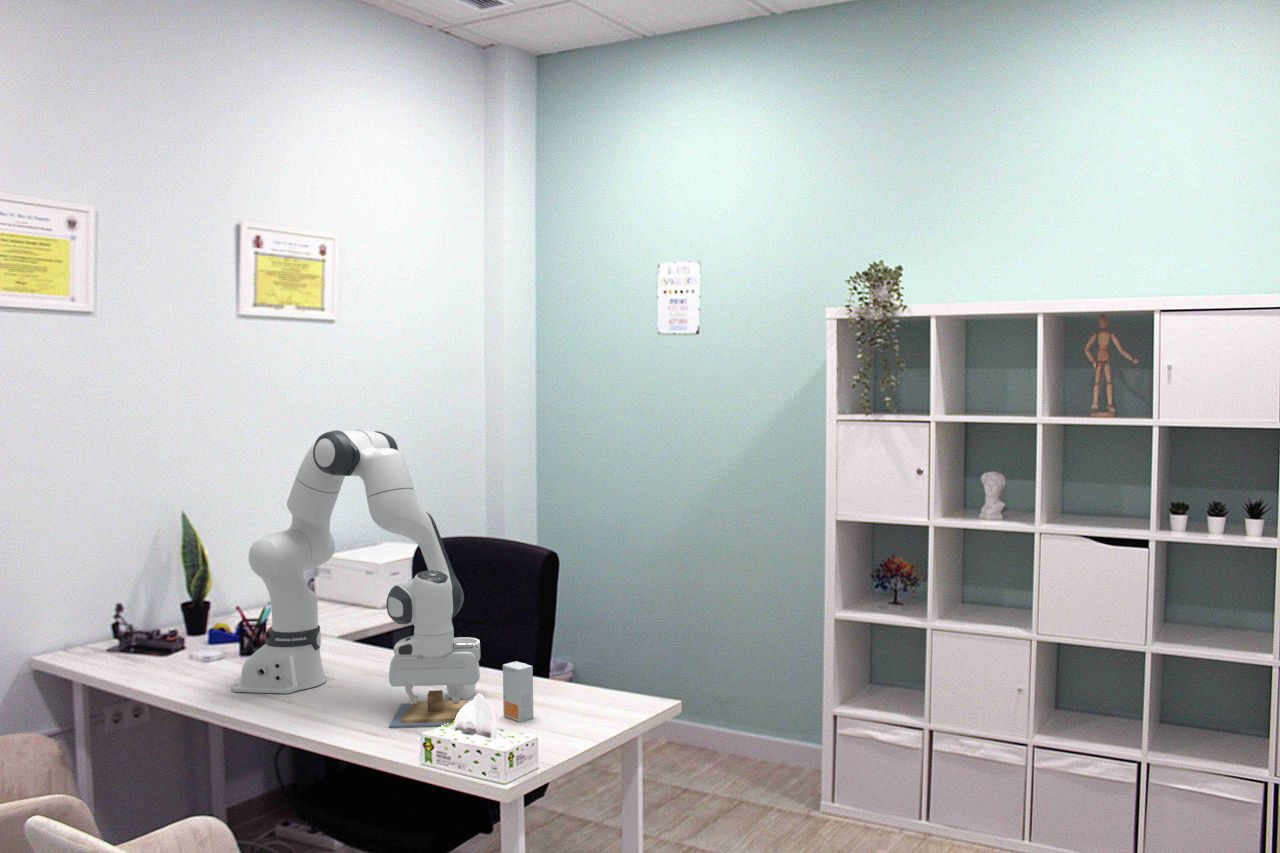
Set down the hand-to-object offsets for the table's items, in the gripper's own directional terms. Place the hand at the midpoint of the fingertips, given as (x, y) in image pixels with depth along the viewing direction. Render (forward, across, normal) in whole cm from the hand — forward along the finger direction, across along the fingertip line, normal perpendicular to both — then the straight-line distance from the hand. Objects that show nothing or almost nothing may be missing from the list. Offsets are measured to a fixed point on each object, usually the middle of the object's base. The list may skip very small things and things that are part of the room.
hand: (435, 703), depth 244 cm
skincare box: (+3, -19, +3) cm, 19 cm away
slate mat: (+3, 0, 0) cm, 3 cm away
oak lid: (+2, 0, 0) cm, 2 cm away
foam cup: (+3, -4, -15) cm, 16 cm away
